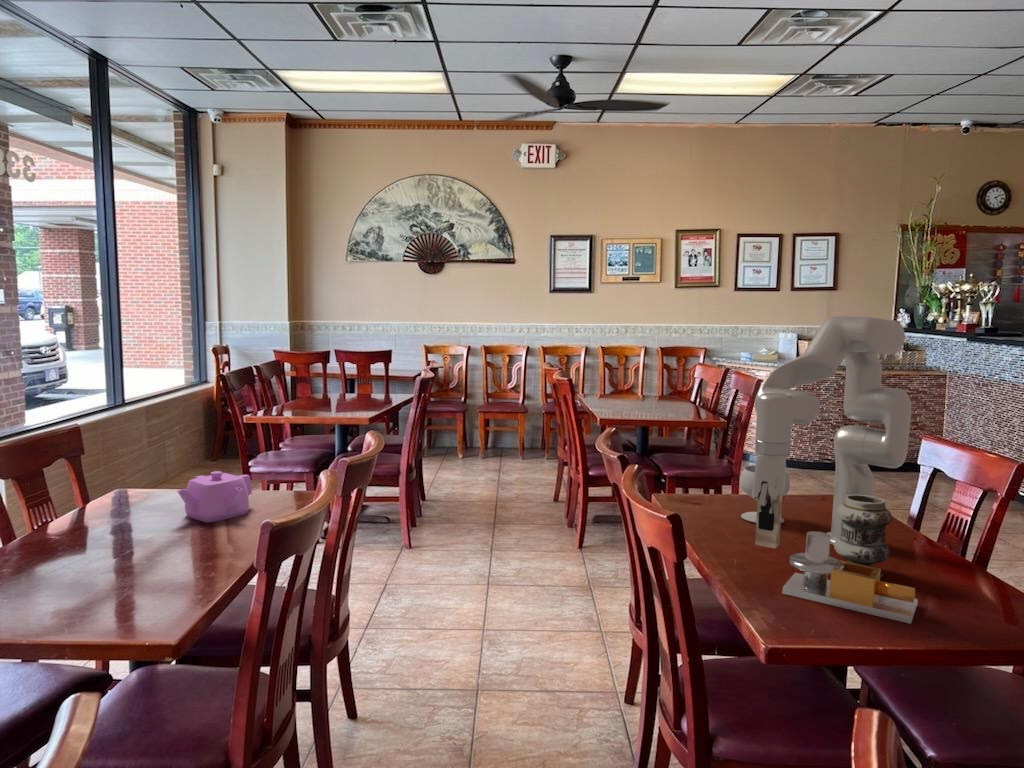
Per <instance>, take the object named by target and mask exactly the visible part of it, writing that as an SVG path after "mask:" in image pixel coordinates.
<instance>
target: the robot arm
mask: <svg viewBox="0 0 1024 768" xmlns="http://www.w3.org/2000/svg"><path fill="white" fill-rule="evenodd" d="M905 333H906V332H905V328H904V326H903V325H902V324H901V323H900V322H899V321H897V320H895V319H884V318H878V317H872V316H869V317H868V316H847V315H845V316H844V315H840V316H838V315H837V316H832V317H829V318H827V319H826V320H825V321H823V323H822V324H821V325H820V327H819V329H818V330H817V332H816V333H815V335H814V336H813V338H812V340H811V341H810V343H809V344H808V346H807V347H806V348H805V350H804V351H803V353H802V354H801V355H800V356H797V357H794V358H793V359H791V360H788V361H787V362H785V363H783V364H781V365H780V366H778V367H776V368H775V369H774V370H772V371H771V372H770V373H769V374H768V376H767V377H766V378H765V380H763V383H762V384H761V386H760V388H759V389H758V391H757V393H756V395H755V398H754V410H755V412H756V422H755V425H756V426H755V439H754V440H755V441H754V443H755V445H754V454H755V455H757V456H756V460H755V464H754V465H755V473H754V483H753V494H752V496H753V499H754V498H755V499H756V498H757V497H758V496H759V495H760V499H759V524H758V528H759V529H763V530H768V531H772V530H773V528H774V513H773V505H774V500H776V499H777V497H778V496H779V495H780V494H781V493H782V494H783V492H784V489H785V478H786V472H787V458H789V457H790V456H791V445H792V442H791V441H792V428H793V425H806V424H807V425H808V424H810V423H813V422H814V421H815V420H816V419H817V417H818V416H819V414H820V411H821V403H820V400H819V398H818V397H817V396H816V395H815V394H814V393H811V392H808V391H806V390H805V391H804V390H796V389H793V388H796V387H799V386H803V385H807V384H811V383H813V384H814V383H817V382H820V381H825V380H828V379H829V378H832V377H833V376H834V375H835V374H836V373H837V372H838V369H839V367H840V366H841V364H842V362H843V361H844V364H845V382H844V383H845V384H844V391H843V413H844V415H845V416H846V417H847V418H848V419H850V420H853V421H857V422H865V423H871V424H879V425H884V429H883V428H877V427H876V428H875V427H869V426H865V425H864V426H862V425H855V424H853V425H852V424H851V425H845V426H842V427H841V426H840V428H838V429H837V431H836V432H835V434H834V437H833V449H834V451H833V452H834V457H835V458H834V459H835V472H834V473H835V474H834V475H835V476H834V487H833V488H834V491H833V503H832V514H831V515H832V517H831V527H830V528H831V529H830V530H831V531H828V532H825V533H826V534H829V535H830V545H832V546H834V543H835V541H836V540H837V539H838V538H840V535H841V526H842V519H840V518H839V516H838V514H837V509H838V507H839V506H840V505H841V504H843V503H844V501H845V498H846V496H847V495H869V496H874V492H875V491H874V490H875V478H874V477H875V476H874V474H873V472H872V470H871V469H870V465H871V466H876V467H883V468H888V469H898V468H899V467H902V466H903V464H904V463H905V462H906V459H907V455H908V449H909V438H910V431H911V430H910V428H911V418H912V401H911V398H910V396H909V394H908V393H907V391H905V390H903V389H900V388H897V387H896V388H895V387H885V386H883V385H882V377H883V376H882V375H883V374H882V373H883V365H882V364H881V361H880V359H879V358H878V355H879V354H880V355H888V356H889V355H894V354H896V353H898V352H899V351H900V350H901V349H902V348H903V346H904V344H905V339H906V334H905ZM760 492H761V494H759V493H760ZM767 497H771V498H770V499H767ZM755 499H754V500H755ZM767 502H770V506H769V504H768V503H767Z"/></svg>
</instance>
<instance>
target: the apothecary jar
mask: <svg viewBox="0 0 1024 768" xmlns="http://www.w3.org/2000/svg"><path fill="white" fill-rule="evenodd" d="M837 514H838V516H839V518H840V519H842V526H841V535H840V538H838V539H837V540H836V541H835V543H834V545H833V548H834V550H835V552H836V553H837V554H838V555H839V556H840V557H842V558H843V559H845V560H846V561H848V562H851V563H856V564H861V565H866V566H871V567H875V565H874V564H879V563H882V562H885V561H886V560H888V559H889V557H890V554H891V550H890V548H889V546H888V544H886V540H885V539H886V526H888V525H889V524H890V523H891V522H892V520H893V515H892V513H891V512H890V511H889V510H888V509H887V506H886V501H885V499H884V498H881V497H878V496H875V495H873V496H869V495H847V496H846V498H845V501H844V503H843V504H841V505H840V506H839V507H838V509H837ZM883 576H884V572H883V571H882V570H881V571H880V579H881V578H883Z"/></svg>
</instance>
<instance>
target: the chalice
mask: <svg viewBox="0 0 1024 768" xmlns="http://www.w3.org/2000/svg"><path fill="white" fill-rule="evenodd" d="M755 465H756V464H754V465H748V466H745V467H744V468H743V470H742V472H741V475H740V478H739V487H740V488H741V490H742V491H743V493H745V494H746V495H748V496H749V497H751V498H753V496H752V494H753V483H754V473H755ZM790 490H791V481H790V478H789V474H788V472H787V471H786V478H785V489H784V492H783V494H782V498H783V497H785V496H786V495H787V494H788V493H789V492H790ZM753 499H754V500H755V501H756V502H757V498H756V499H755V498H753ZM740 516H741V517H740V518H741V519H743V520H745V521H748V522H750V523H755V524H756V517H757V511H747V512H743V513H742V514H741V515H740ZM784 522H785V519H784V518H783V517H782V516H781V524H783V523H784Z"/></svg>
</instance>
